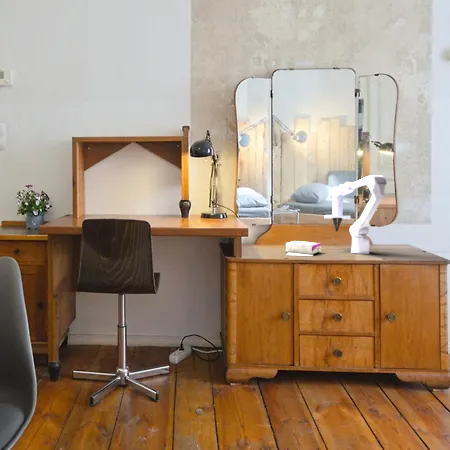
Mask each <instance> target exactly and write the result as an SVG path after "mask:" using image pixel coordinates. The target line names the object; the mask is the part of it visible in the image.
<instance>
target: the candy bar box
mask: <svg viewBox="0 0 450 450" xmlns="http://www.w3.org/2000/svg"><path fill="white" fill-rule="evenodd" d="M321 247H322V244H321V242H318V243H317V242H309V241H299V240H297V241H296V240H292V241H290V242H286V243H285V252H287V253H288V252H295V253H304V254H317V253H321V251H322V248H321Z"/></svg>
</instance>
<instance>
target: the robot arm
mask: <svg viewBox="0 0 450 450" xmlns="http://www.w3.org/2000/svg"><path fill="white" fill-rule="evenodd" d="M387 184H388V183H387V179H386V177H385V176H383V175H381V174H380V175H368V176H365V177H363V178H361V179H359V180H357V181H354V182H351V181H346V182H345V183H344V184H339V186H334V187H333V188H331V190H330V194H331V196H332V211H331V212H332V214H325V215H324V216H323V217H324V219H326V220H329V219H332V222H333V224H334V225H333V226H334V229H335V232H339V228H340V226H341V222H342V221H343V220H351V215H346V214H345V215H343V214H344V213H343V211H344V209H343V208H344V199H345V198H344V197H345V196H346V195H349V194H350V193H353V192H355V189H357V188H358V189H359V188H361V187H363V186H366V187H367V188H368V189H369V191H370V193H371V197H370V199H369V201H368V202H367V204H366V206H365V207H364V210H363V211H362V213H361V215H360V216H359V218H358V219H357V220H356V221H355V222H354V223H353V224H352V225H350V227H349V233H350V235H351V250H350V253H351V254H364V255H365V254H366V255H367V254H368V255H369V254H370V251H371V248H370V240H371V239H370V236H367V235H368V234H369V231H370V230H369V229H370V227H371V224H370V222H371V219H372V218H373V217H374V214H375V213H376V211H377V209H378V208H379V205H380V203H381V202H382V201H383V198H384V197H385V190H386V185H387Z"/></svg>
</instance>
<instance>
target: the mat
mask: <svg viewBox="0 0 450 450" xmlns="http://www.w3.org/2000/svg"><path fill="white" fill-rule="evenodd" d="M314 254H315V253H314ZM314 254H304V253H295V252H287V253H286V255H285V256H291V257H292V256H293V257H294V256H295V257H314Z"/></svg>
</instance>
